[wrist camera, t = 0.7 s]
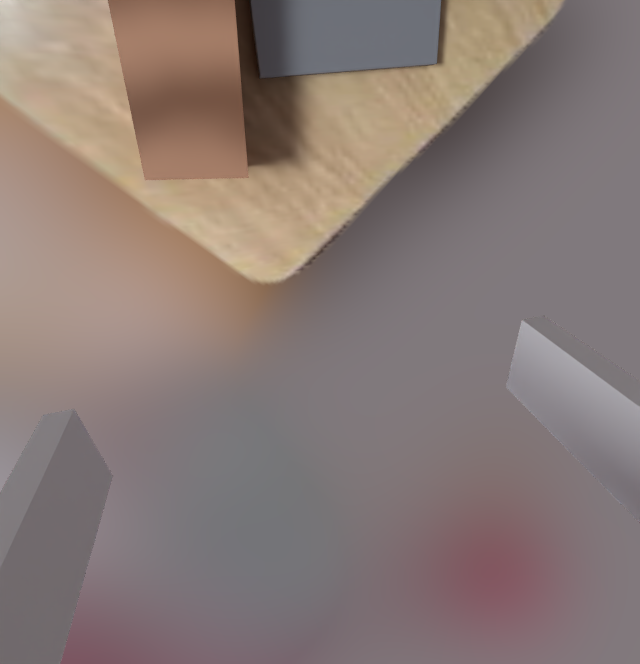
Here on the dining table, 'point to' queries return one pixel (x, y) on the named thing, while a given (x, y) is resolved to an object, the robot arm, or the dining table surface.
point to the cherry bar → (183, 86)
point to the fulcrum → (343, 35)
